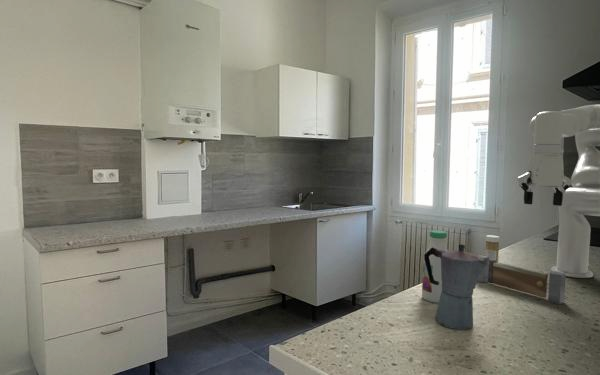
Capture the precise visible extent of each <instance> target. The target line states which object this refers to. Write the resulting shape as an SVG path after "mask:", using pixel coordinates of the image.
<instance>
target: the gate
mask: <svg viewBox="0 0 600 375" xmlns="http://www.w3.org/2000/svg"><path fill="white" fill-rule="evenodd" d="M548 277H549V274H548V273H547V272H541V271H537V270H532V269H528V268H525V267H520V266H515V265H511V264H507V263H503V262H499V261H498V262H496V260H489V271H488V282H487V283H488V284H493V285H497V286H499V287H503V288H506V289H507V288H508V289H512V290H515V291H518V292H520V293H521V292H522V293H525V294H528V295H534V296H536V297H541V298H545V299H546V298H547V290H548Z"/></svg>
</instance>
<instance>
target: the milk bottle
mask: <svg viewBox="0 0 600 375" xmlns="http://www.w3.org/2000/svg"><path fill="white" fill-rule="evenodd" d="M447 235H448V234H447V231H445V230H444V231H443V230H437V229H436V230H430V232H429V240H430V241H429V245H428V247H427V249H426V251H425V253H424V254H426V253H427V251H429V250H430V249H431V248H432V247H433V248H435V249H437V250H444V251H449V250H448V247H447V243H446V241H447V237H448V236H447ZM429 259H430V265H431V268H432V275H433V278H434V280H435V281H438V282H439V285H434V284H432V283H430V280H429V276H428V272H427V267H426V264H425V260H424V259H423V264H422V280H421V281H422V284H421V286H422V287H421V297H422V299H423V300H425V301H427V302H431V303H437V304H438V303H439V299H440V295H441V291H442V278H441V258H440V257H436V256H434V255H433V254H432V255H430V256H429Z"/></svg>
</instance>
